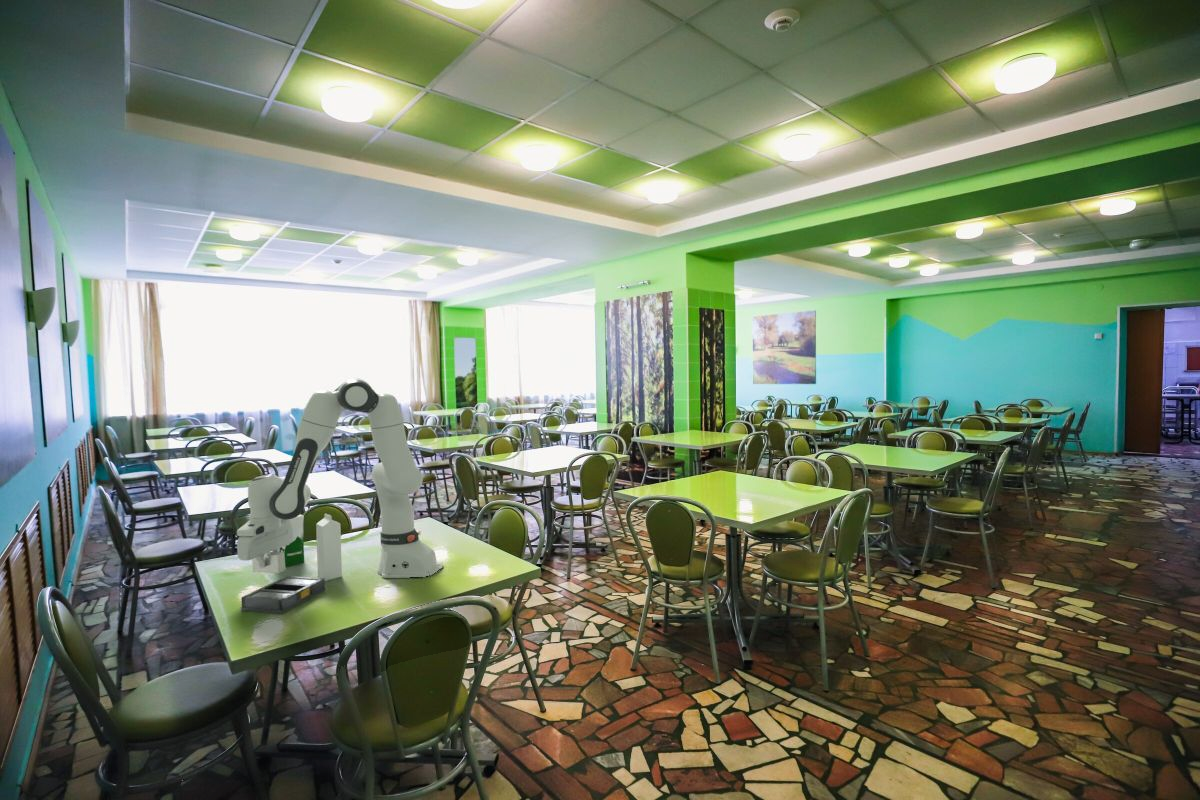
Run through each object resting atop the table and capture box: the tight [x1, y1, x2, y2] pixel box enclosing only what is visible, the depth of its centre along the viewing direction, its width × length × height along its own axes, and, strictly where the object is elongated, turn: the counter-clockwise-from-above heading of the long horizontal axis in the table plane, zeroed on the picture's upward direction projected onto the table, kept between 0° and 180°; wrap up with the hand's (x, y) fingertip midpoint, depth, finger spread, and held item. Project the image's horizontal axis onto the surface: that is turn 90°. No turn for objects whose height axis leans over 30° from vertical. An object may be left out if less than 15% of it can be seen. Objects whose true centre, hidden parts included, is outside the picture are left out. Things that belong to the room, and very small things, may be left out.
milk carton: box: [280, 513, 305, 568], centre depth 213 cm, size 9×9×20 cm
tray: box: [240, 575, 326, 615], centre depth 177 cm, size 15×19×4 cm
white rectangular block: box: [251, 551, 286, 574], centre depth 188 cm, size 10×3×6 cm, turn 78°
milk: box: [315, 513, 343, 582], centre depth 197 cm, size 6×6×22 cm
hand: (268, 564), depth 188 cm, fingers closed on white rectangular block, 3 cm apart
